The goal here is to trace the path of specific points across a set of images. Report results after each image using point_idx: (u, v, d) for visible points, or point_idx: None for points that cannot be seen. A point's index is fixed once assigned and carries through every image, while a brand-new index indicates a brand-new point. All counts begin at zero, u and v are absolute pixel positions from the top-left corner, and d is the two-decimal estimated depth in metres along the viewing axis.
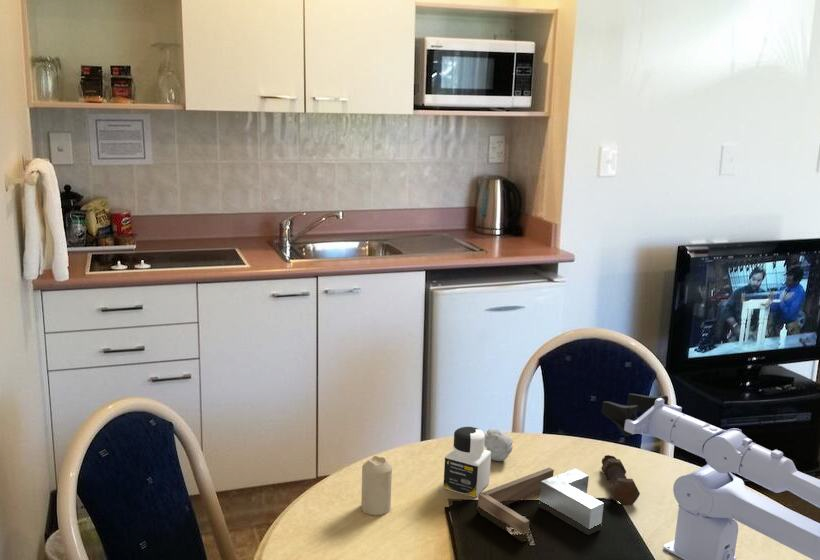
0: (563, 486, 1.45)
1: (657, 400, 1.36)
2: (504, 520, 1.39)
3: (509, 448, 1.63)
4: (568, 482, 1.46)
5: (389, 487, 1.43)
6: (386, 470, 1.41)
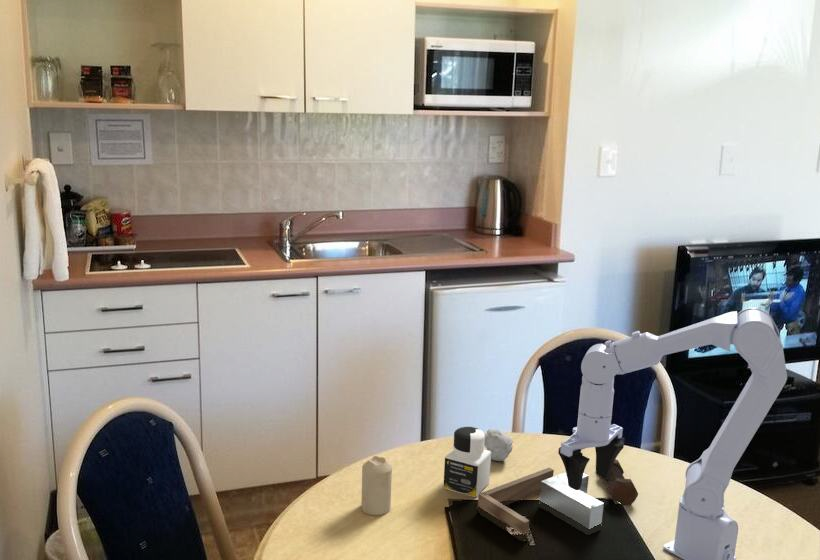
0: (563, 486, 1.45)
1: (573, 429, 1.40)
2: (504, 520, 1.39)
3: (509, 448, 1.63)
4: None
5: (389, 487, 1.43)
6: (386, 470, 1.41)
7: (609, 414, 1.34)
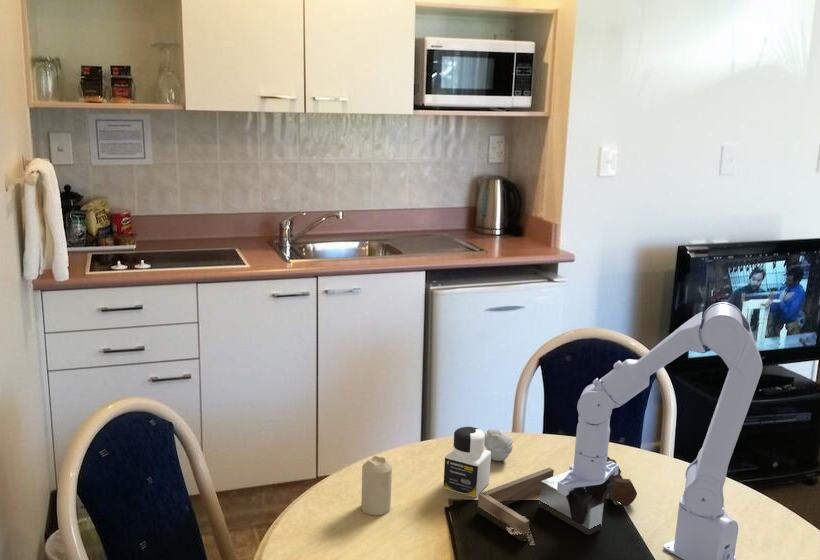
0: None
1: (569, 467, 1.41)
2: (504, 520, 1.39)
3: (509, 448, 1.63)
4: None
5: (389, 487, 1.43)
6: (386, 470, 1.41)
7: (605, 453, 1.36)
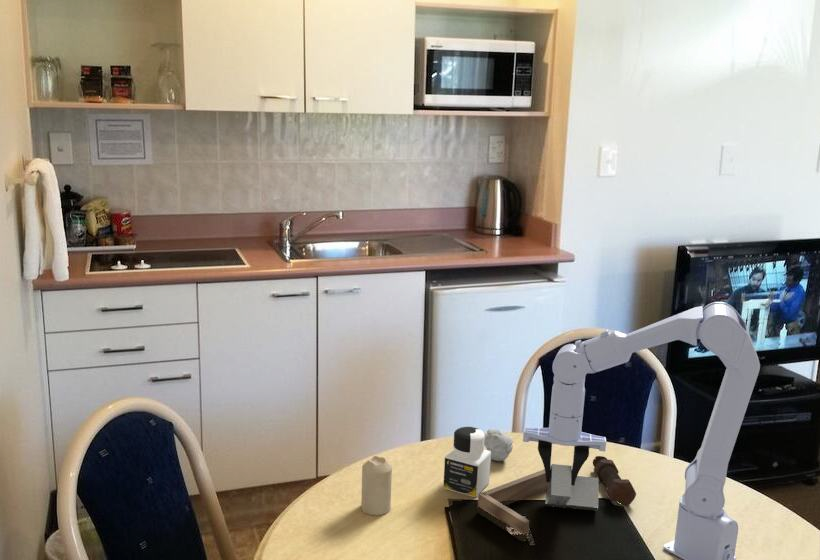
0: None
1: None
2: (504, 520, 1.39)
3: (509, 448, 1.63)
4: None
5: (389, 487, 1.43)
6: (386, 470, 1.41)
7: (580, 413, 1.35)
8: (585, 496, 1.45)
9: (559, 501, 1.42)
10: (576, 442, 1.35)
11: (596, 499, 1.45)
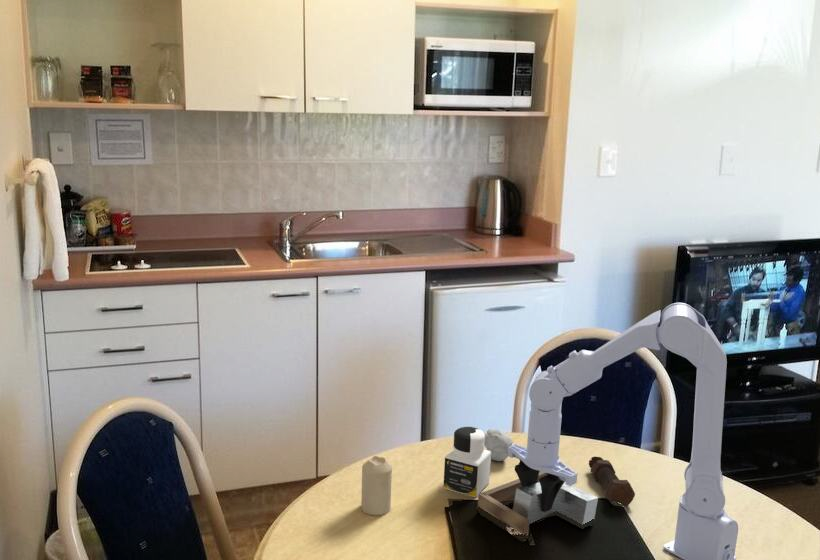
0: None
1: None
2: (504, 520, 1.39)
3: None
4: (563, 488, 1.43)
5: (389, 487, 1.43)
6: (386, 470, 1.41)
7: (557, 439, 1.37)
8: (572, 514, 1.41)
9: None
10: (542, 468, 1.37)
11: (581, 521, 1.39)
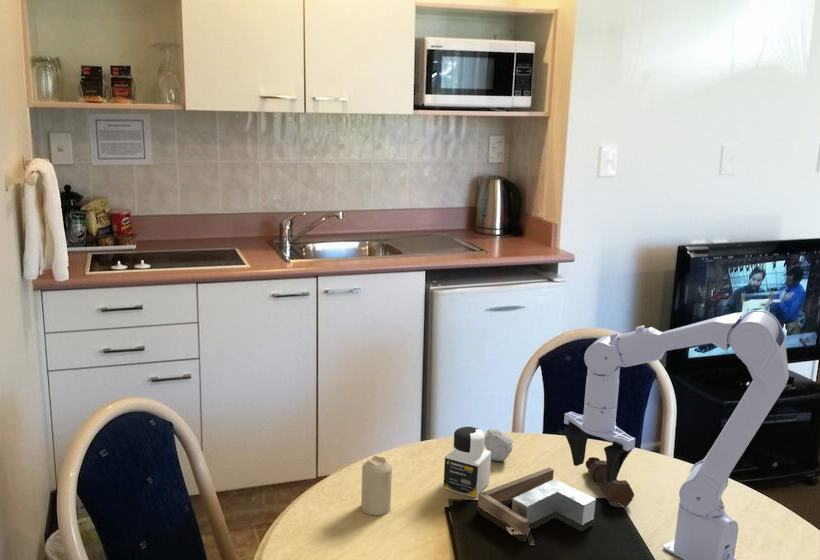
0: (550, 489, 1.43)
1: None
2: (504, 520, 1.39)
3: (509, 448, 1.63)
4: (560, 492, 1.42)
5: (389, 487, 1.43)
6: (386, 470, 1.41)
7: (613, 405, 1.36)
8: (571, 517, 1.41)
9: None
10: (599, 433, 1.37)
11: None
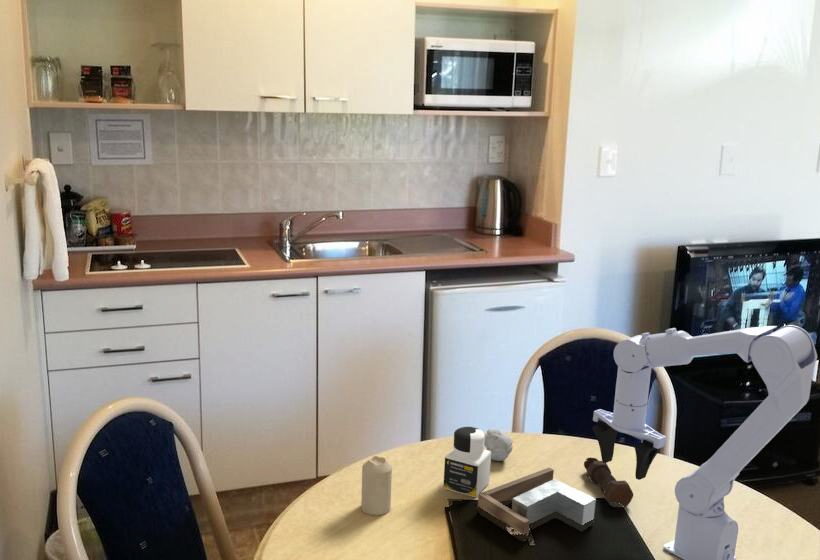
0: (550, 488, 1.43)
1: None
2: (504, 520, 1.39)
3: (509, 448, 1.63)
4: (560, 492, 1.42)
5: (389, 487, 1.43)
6: (386, 470, 1.41)
7: (641, 404, 1.37)
8: (571, 517, 1.41)
9: None
10: (629, 431, 1.37)
11: None
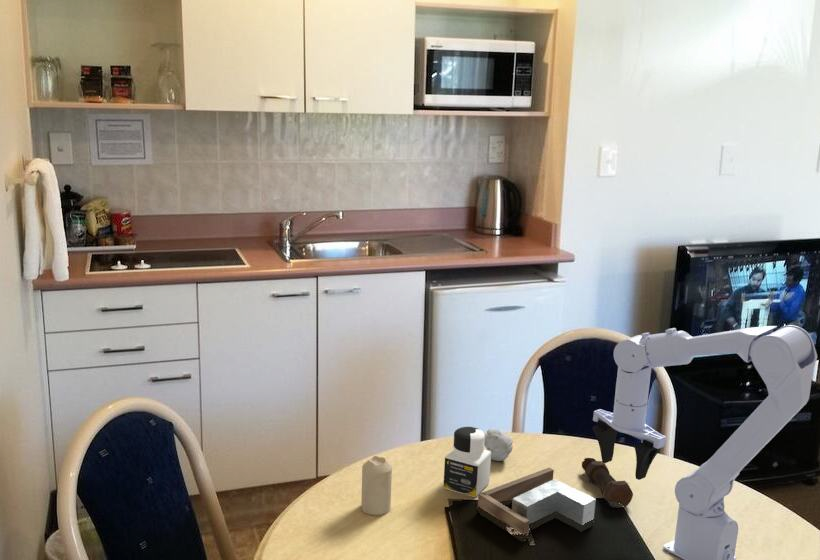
0: (550, 489, 1.43)
1: None
2: (504, 520, 1.39)
3: (509, 448, 1.63)
4: (560, 492, 1.42)
5: (389, 487, 1.43)
6: (386, 470, 1.41)
7: (641, 404, 1.37)
8: (571, 517, 1.41)
9: None
10: (629, 431, 1.37)
11: None
